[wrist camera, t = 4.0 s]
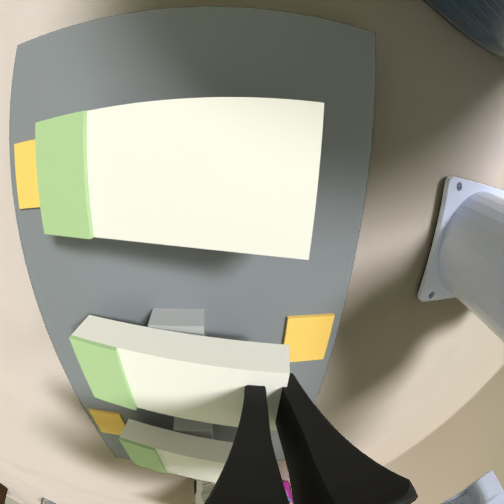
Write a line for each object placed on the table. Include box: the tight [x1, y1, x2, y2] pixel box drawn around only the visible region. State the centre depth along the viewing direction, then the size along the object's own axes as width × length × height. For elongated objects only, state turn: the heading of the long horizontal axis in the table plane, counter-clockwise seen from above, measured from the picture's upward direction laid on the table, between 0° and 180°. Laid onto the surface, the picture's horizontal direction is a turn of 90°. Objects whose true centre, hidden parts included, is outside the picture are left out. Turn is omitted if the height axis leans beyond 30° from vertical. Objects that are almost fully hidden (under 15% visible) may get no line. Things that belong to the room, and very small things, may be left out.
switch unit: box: [9, 6, 375, 461], centre depth 14 cm, size 16×30×3 cm, turn 177°
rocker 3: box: [119, 419, 233, 483], centre depth 15 cm, size 9×4×2 cm, turn 87°
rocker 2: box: [69, 315, 290, 431], centre depth 11 cm, size 9×4×2 cm, turn 87°
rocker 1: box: [35, 97, 324, 260], centre depth 8 cm, size 9×4×2 cm, turn 87°
